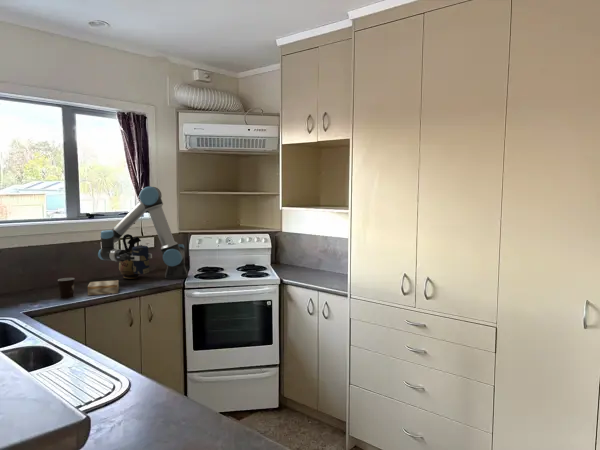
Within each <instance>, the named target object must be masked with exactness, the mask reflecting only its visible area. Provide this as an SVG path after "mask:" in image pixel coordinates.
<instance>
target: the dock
mask: <svg viewBox="0 0 600 450" xmlns="http://www.w3.org/2000/svg"><path fill="white" fill-rule="evenodd" d="M119 282H120V281H119V280H118V279H116V280H100V281H90V282H89V283H88V285H87V296H97V295H110V293H112V294H118V293H119V290H120V285H119V284H120V283H119Z"/></svg>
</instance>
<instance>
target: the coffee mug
mask: <svg viewBox="0 0 600 450" xmlns="http://www.w3.org/2000/svg"><path fill="white" fill-rule="evenodd" d="M57 284H58V290H59V295H60V299H69V298H72V297H74V291H75V277H64V278H59V279H57Z"/></svg>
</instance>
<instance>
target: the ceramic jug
mask: <svg viewBox="0 0 600 450" xmlns="http://www.w3.org/2000/svg"><path fill="white" fill-rule="evenodd" d="M127 238H129V240H128V241H126V239H127ZM141 241H142V240H141V238H140V237H138V236H134V237H133V235H131V234H129V233H128V234H123V237H122V242H123V248H124V250H125V251H126V252H130V253H132V248H133V247H135V245H136V244H137V243H140V242H141ZM118 269H119V272H120V274H121V275H122V278H123V279H130V280H131V279H133V280H136V279H138V277H139V276H140V274H135V273H134V272H133V260H131V259H130V261H128V260H127V261H126V260H125V261H123V262H122V261H119V263H118Z"/></svg>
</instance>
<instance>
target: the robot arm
mask: <svg viewBox="0 0 600 450" xmlns="http://www.w3.org/2000/svg"><path fill="white" fill-rule="evenodd" d="M163 205H164V203H163V200H162V192H161V190H160V188H158V187H155V186H149V185H148V186H145V187H144V188H142V189H141V190H140V192H139V201H138V202H137V204H135V205H134V207H133V208H131V210H129V212H128V213H127V214H125V216H124V217H123V218H122V219H120V221H119V222H118V223H117V224H116V225H115V226H114V227H113V228H112V229H106V230H101V231H100V243H101V246H100V247H101V248H100V249H99V250H98V253H97V257H98V258H99V259H100V260H102V261H112V262H115V263H117V262H120V261H122V262H123V261H125V260H126V261H127V260H128V261H130V259H131V260H136V261H140V258H139V256H133V254H132V253H130V252H126V251H125V249H117V248H115V243H117V242H118V241H119V240H120V239H121V237H122V236H124V235H125V233H126V232H127V231H128V230H129V229H130V228H131V227H132V226H133V225H134V224H136V222H137V221H138V220H139V219H140V218H141V217H142V216H143V215H144V214H145V213H147V212H148V213H149V216H150V218H151V221H152V224H153V226H154V229H155V231H156V234H157V237H158V239H159V242H160V245H161V247H160V253H161V254H162V260H163V262H164V264H165V265H166V266H167V267H166V270H165V273H164V278H165V279H166V280H168V279H169V280H180V279H182V280H183V279H185V278H188V271H187V269H186V268H187V267H186V264H185V263H186V262H185V261H186V259H185V245H184V244H183V243H181V244H180V243H178V241H175V239H174V236H173V234H172V231H171V228H170V225H169V223H168V220H167V216H166V215H165V212H164V210H163ZM149 259H153V254H152V253H149Z"/></svg>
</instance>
